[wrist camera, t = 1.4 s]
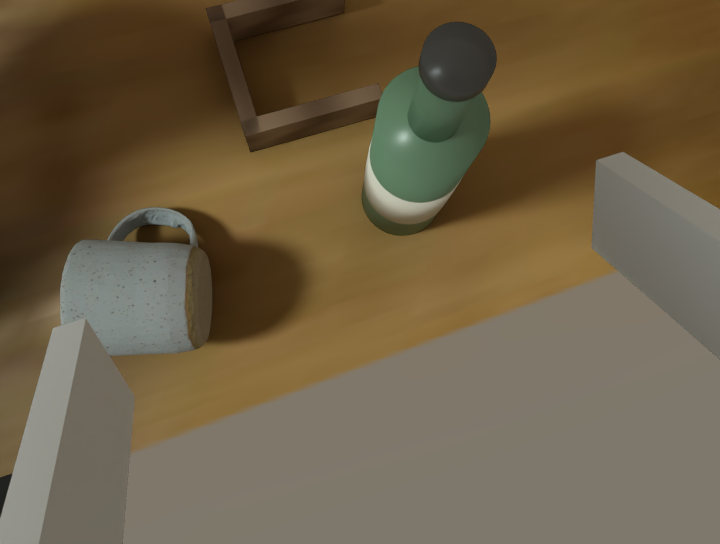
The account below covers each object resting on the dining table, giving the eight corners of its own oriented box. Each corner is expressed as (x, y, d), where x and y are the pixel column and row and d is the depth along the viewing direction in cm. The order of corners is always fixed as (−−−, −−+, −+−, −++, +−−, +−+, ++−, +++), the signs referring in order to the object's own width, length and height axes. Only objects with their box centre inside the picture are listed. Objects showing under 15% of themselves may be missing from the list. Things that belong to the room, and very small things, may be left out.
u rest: (250, 152, 44) (245, 136, 41) (213, 31, 46) (205, 8, 43) (380, 115, 46) (383, 97, 43) (339, -1, 47) (340, -26, 44)
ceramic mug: (217, 354, 42) (193, 347, 34) (99, 359, 41) (49, 353, 34) (217, 212, 44) (195, 175, 36) (105, 214, 43) (59, 178, 36)
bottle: (353, 226, 44) (374, 105, 24) (369, 151, 45) (403, -23, 25) (432, 244, 44) (518, 137, 24) (447, 168, 45) (540, 8, 25)
